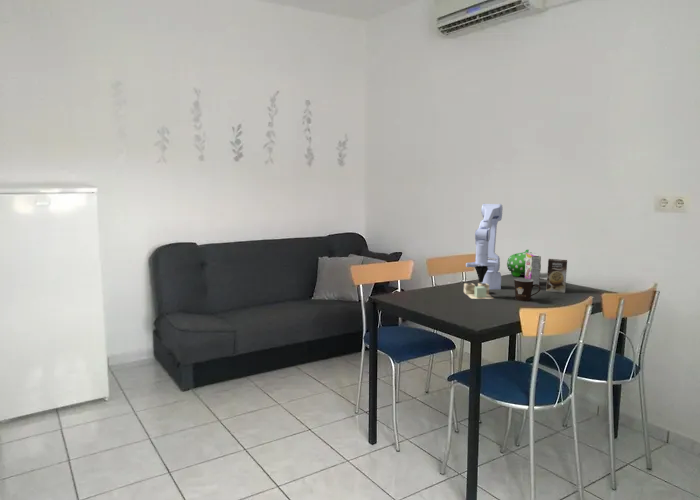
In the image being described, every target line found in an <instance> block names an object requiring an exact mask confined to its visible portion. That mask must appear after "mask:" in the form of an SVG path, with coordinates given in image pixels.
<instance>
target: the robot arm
mask: <svg viewBox="0 0 700 500" xmlns="http://www.w3.org/2000/svg"><path fill="white" fill-rule="evenodd" d="M481 216H482V218H483V219H482V220H480V222H479V226H478V228H477V229H475V232H474V239H475V261H473V262H466V263H465V267H466V268H474V270H475V271H476V274H477V278H478V279H477V280H478V283H487V284H489V290H501V289H502V287H501V286H502V274H501V272H500V267H501V261H500V260H501V258H500V256H499V255H498V254H496V242H497V241H496V239H497V230H498V229H497V226H498V222H500V221H502V219H503V205H502V203H482V205H481Z"/></svg>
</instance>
